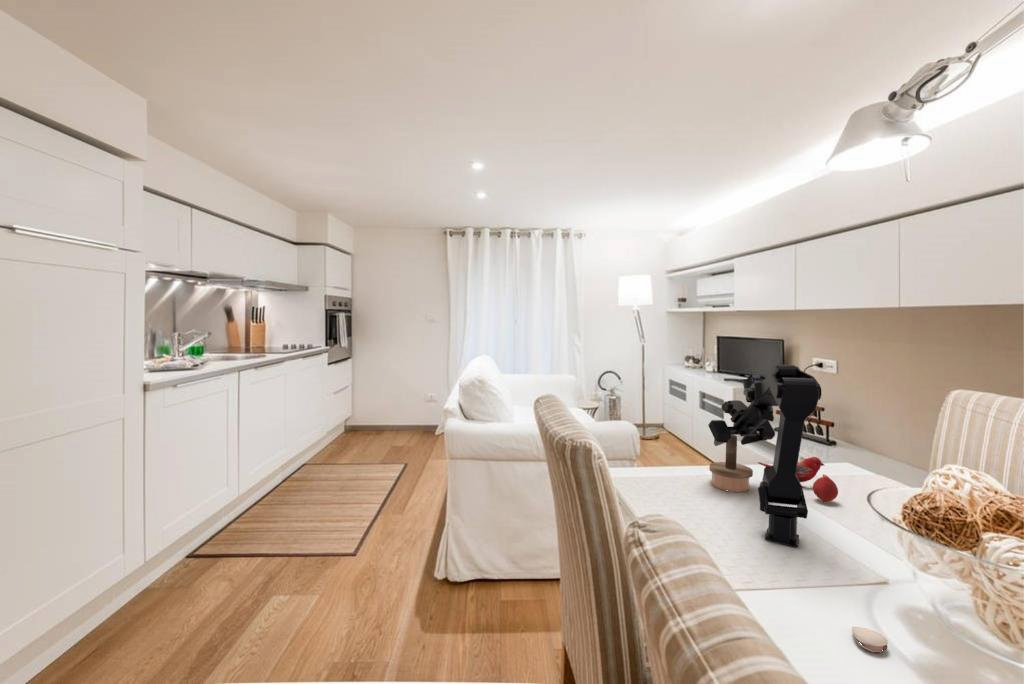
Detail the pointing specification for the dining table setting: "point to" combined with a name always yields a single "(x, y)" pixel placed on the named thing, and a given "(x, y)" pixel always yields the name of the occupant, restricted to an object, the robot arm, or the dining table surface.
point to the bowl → (730, 483)
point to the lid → (731, 463)
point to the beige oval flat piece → (870, 639)
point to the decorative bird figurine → (806, 468)
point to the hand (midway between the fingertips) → (728, 444)
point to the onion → (825, 489)
